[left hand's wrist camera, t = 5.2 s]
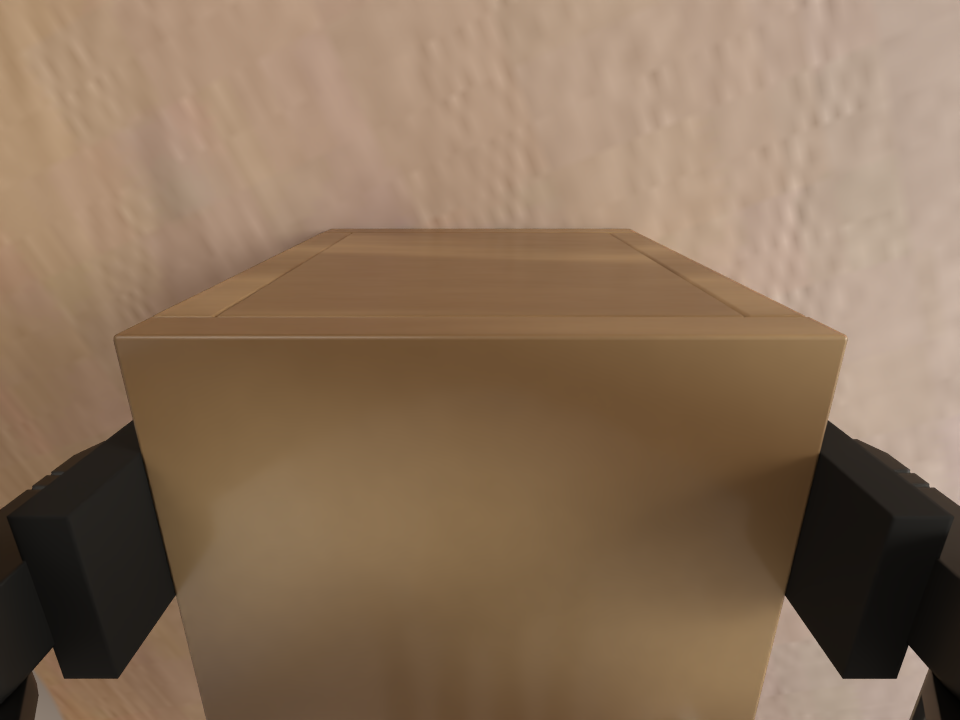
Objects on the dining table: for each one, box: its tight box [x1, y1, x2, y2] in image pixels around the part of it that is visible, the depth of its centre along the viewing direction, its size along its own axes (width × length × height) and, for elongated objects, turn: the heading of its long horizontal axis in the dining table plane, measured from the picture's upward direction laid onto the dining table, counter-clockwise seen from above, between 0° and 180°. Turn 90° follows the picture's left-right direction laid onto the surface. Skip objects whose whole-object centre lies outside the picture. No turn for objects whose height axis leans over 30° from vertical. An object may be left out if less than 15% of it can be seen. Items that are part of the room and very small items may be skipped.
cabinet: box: [114, 229, 847, 720], centre depth 16 cm, size 16×10×12 cm, turn 0°
